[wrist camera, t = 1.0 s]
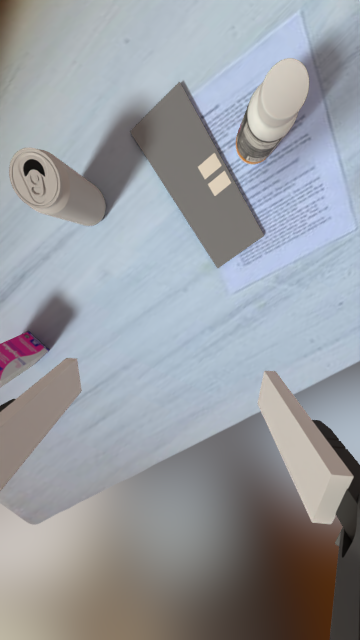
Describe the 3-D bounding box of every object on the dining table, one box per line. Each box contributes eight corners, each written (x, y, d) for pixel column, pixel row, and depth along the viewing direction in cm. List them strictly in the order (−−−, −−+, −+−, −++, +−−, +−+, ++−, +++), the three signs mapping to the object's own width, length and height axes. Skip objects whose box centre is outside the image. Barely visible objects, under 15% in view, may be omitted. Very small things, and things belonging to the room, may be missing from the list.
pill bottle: (254, 108, 27) (288, 31, 18) (282, 139, 28) (328, 81, 19) (226, 147, 29) (244, 95, 20) (253, 175, 30) (283, 138, 20)
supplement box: (51, 349, 41) (1, 382, 30) (35, 364, 43) (-18, 401, 32) (29, 329, 40) (-31, 357, 29) (13, 345, 42) (-50, 377, 31)
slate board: (131, 133, 29) (129, 131, 28) (179, 85, 27) (179, 81, 26) (217, 268, 34) (217, 268, 34) (262, 236, 32) (264, 235, 32)
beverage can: (105, 183, 31) (56, 141, 20) (109, 226, 33) (67, 211, 22) (66, 183, 31) (-3, 142, 20) (73, 227, 33) (13, 211, 22)
